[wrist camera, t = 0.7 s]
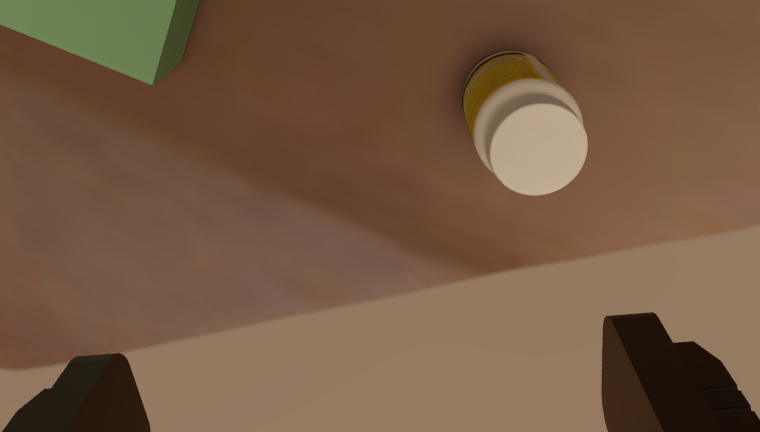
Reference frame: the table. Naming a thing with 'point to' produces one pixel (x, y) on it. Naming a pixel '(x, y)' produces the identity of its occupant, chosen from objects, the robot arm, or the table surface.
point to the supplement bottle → (524, 123)
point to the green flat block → (110, 31)
